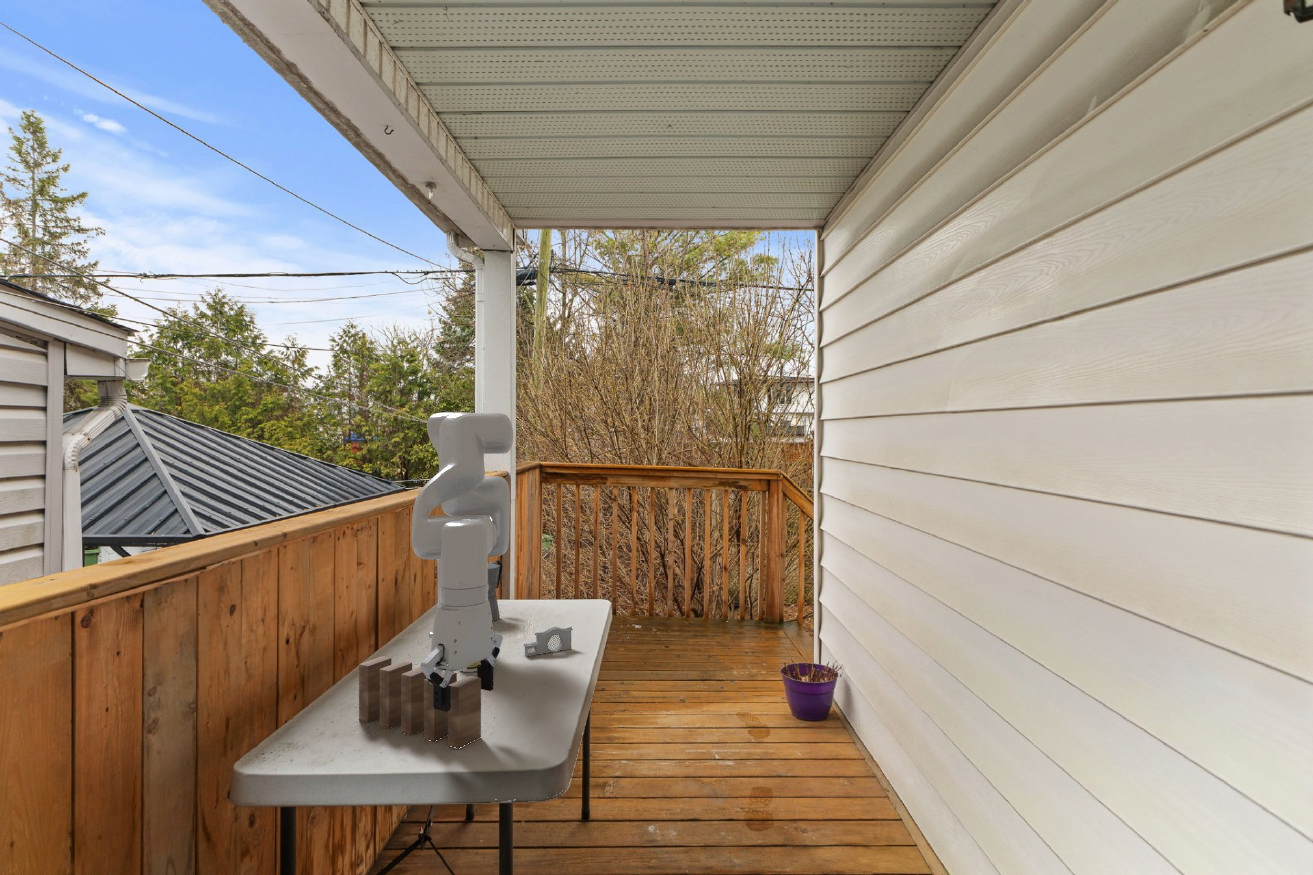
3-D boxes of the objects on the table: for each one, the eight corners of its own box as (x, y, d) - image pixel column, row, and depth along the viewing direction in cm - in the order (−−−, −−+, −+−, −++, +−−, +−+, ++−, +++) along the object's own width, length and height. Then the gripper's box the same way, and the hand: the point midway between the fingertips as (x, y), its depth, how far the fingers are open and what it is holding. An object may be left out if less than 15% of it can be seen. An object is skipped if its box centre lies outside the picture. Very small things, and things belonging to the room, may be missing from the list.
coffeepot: (482, 627, 176) (482, 560, 176) (454, 623, 180) (454, 558, 180) (515, 613, 190) (514, 552, 191) (488, 610, 194) (488, 550, 194)
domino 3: (401, 732, 111) (401, 674, 111) (424, 722, 115) (424, 665, 116) (410, 735, 110) (411, 676, 110) (434, 724, 114) (434, 667, 114)
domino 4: (423, 739, 108) (424, 679, 109) (446, 728, 113) (446, 670, 113) (434, 742, 107) (434, 682, 107) (456, 731, 112) (456, 672, 112)
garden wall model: (525, 658, 150) (525, 632, 150) (523, 656, 152) (523, 630, 152) (573, 649, 157) (573, 624, 157) (569, 647, 158) (569, 623, 158)
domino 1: (358, 720, 116) (358, 664, 116) (382, 710, 121) (382, 656, 121) (367, 722, 115) (367, 666, 115) (391, 712, 120) (391, 658, 120)
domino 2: (379, 726, 114) (379, 669, 114) (403, 716, 118) (403, 660, 118) (388, 729, 113) (388, 671, 113) (412, 718, 117) (412, 662, 117)
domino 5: (448, 746, 106) (448, 685, 106) (470, 734, 110) (470, 675, 110) (458, 750, 105) (458, 687, 105) (481, 737, 109) (480, 678, 109)
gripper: (484, 583, 117) (484, 678, 117) (406, 604, 102) (406, 713, 102) (516, 587, 114) (516, 686, 113) (440, 610, 98) (440, 723, 98)
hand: (464, 699), depth 108 cm, fingers open, 9 cm apart
